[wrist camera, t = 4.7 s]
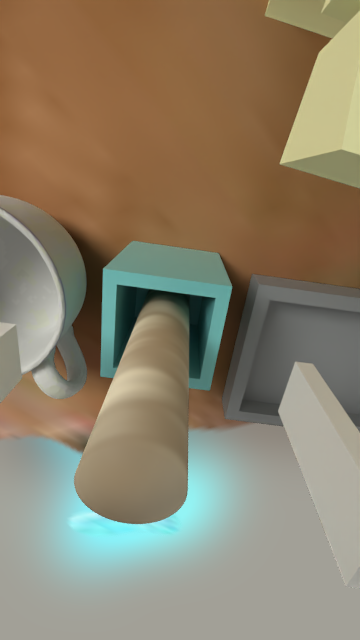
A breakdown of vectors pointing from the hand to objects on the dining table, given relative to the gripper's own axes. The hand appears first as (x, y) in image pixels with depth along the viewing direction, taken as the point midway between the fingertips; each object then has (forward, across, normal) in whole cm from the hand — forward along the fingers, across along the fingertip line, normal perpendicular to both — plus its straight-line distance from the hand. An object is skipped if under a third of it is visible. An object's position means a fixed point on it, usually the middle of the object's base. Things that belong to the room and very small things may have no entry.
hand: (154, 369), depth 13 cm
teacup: (+12, -10, -1) cm, 15 cm away
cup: (+11, 0, 0) cm, 11 cm away
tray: (+11, +14, -4) cm, 18 cm away
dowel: (+10, 0, 0) cm, 10 cm away
